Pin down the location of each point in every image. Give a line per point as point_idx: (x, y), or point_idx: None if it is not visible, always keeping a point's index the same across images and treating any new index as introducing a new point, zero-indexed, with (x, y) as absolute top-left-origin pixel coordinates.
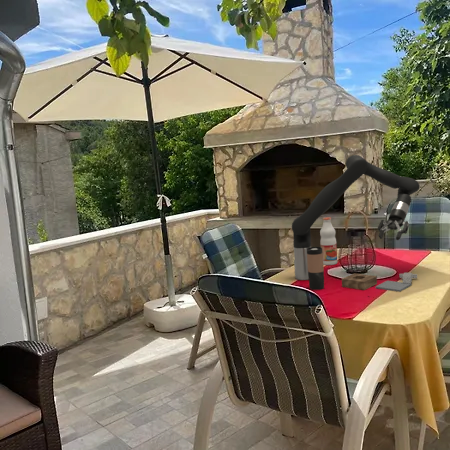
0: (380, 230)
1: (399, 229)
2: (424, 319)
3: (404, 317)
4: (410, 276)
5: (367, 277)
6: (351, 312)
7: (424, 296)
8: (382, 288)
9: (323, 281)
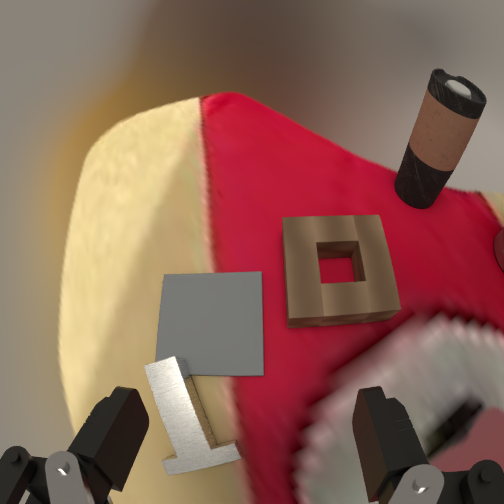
0: (432, 471)
1: (64, 483)
2: (89, 152)
3: (119, 141)
4: (144, 366)
5: (310, 277)
6: (215, 111)
7: (94, 269)
8: (231, 274)
9: (403, 178)
